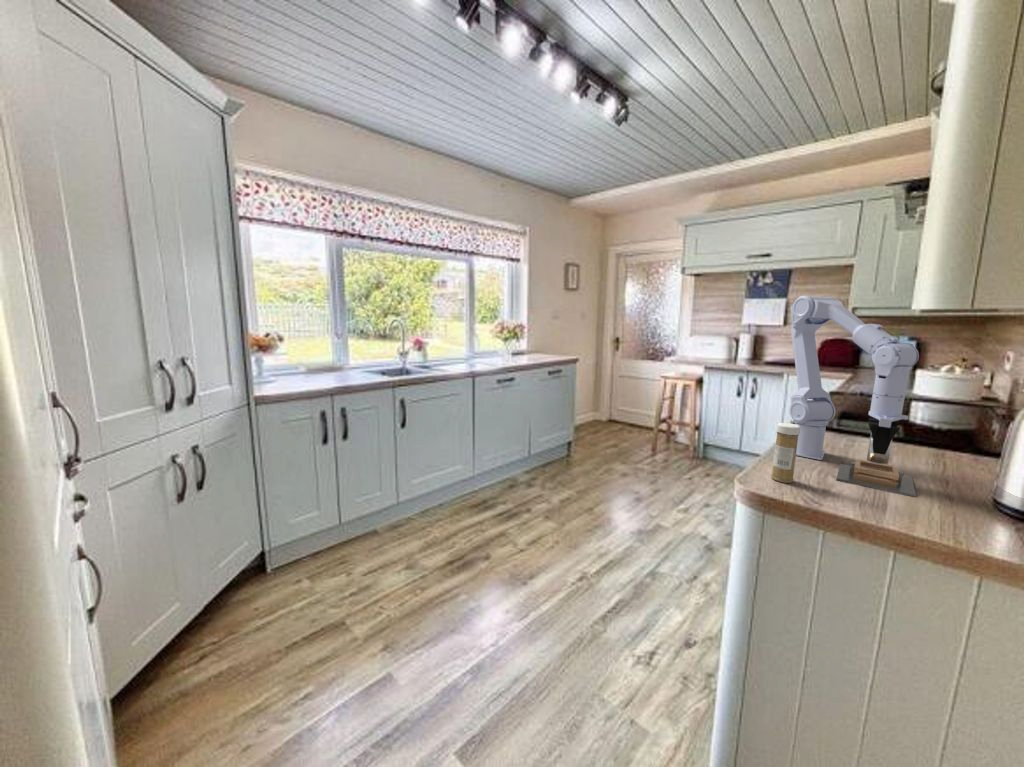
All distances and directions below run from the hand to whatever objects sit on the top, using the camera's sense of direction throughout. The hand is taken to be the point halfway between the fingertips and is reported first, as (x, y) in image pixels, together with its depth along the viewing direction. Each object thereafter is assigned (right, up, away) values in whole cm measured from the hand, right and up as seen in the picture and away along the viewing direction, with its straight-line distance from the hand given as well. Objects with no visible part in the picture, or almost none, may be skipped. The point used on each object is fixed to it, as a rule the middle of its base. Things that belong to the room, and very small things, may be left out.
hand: (879, 451), depth 105 cm
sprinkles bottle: (-23, -7, 0) cm, 24 cm away
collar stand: (0, -7, +1) cm, 7 cm away
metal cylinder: (0, -2, 0) cm, 2 cm away
